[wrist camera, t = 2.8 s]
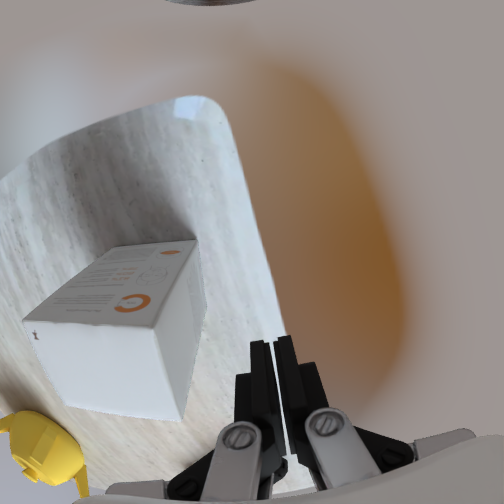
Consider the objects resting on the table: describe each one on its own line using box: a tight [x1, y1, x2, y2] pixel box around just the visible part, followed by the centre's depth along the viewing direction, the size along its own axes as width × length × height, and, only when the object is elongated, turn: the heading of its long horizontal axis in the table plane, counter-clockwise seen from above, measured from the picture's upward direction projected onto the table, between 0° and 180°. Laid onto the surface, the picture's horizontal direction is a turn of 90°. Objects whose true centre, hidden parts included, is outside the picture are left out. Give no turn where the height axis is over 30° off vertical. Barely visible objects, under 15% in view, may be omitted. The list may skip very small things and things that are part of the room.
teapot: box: [0, 411, 89, 498], centre depth 27 cm, size 17×17×12 cm
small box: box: [22, 240, 207, 422], centre depth 17 cm, size 8×6×13 cm
